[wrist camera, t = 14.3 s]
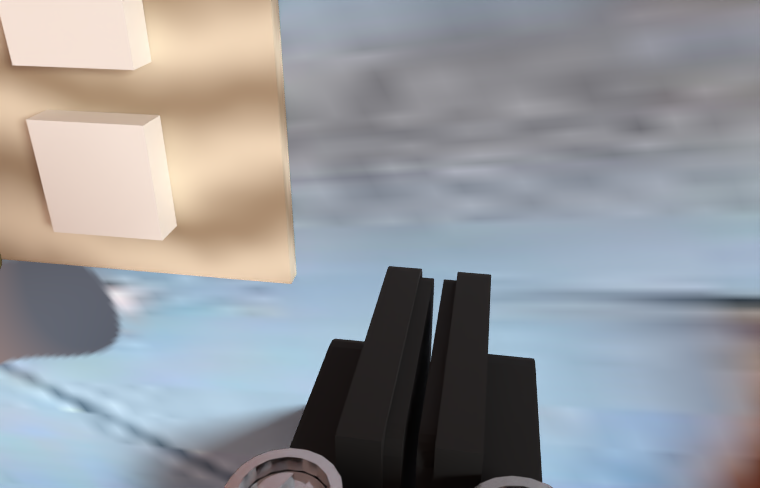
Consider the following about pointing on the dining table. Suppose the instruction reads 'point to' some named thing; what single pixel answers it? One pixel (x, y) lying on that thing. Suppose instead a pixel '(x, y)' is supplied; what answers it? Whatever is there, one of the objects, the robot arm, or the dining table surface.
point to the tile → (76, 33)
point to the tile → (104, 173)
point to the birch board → (171, 145)
